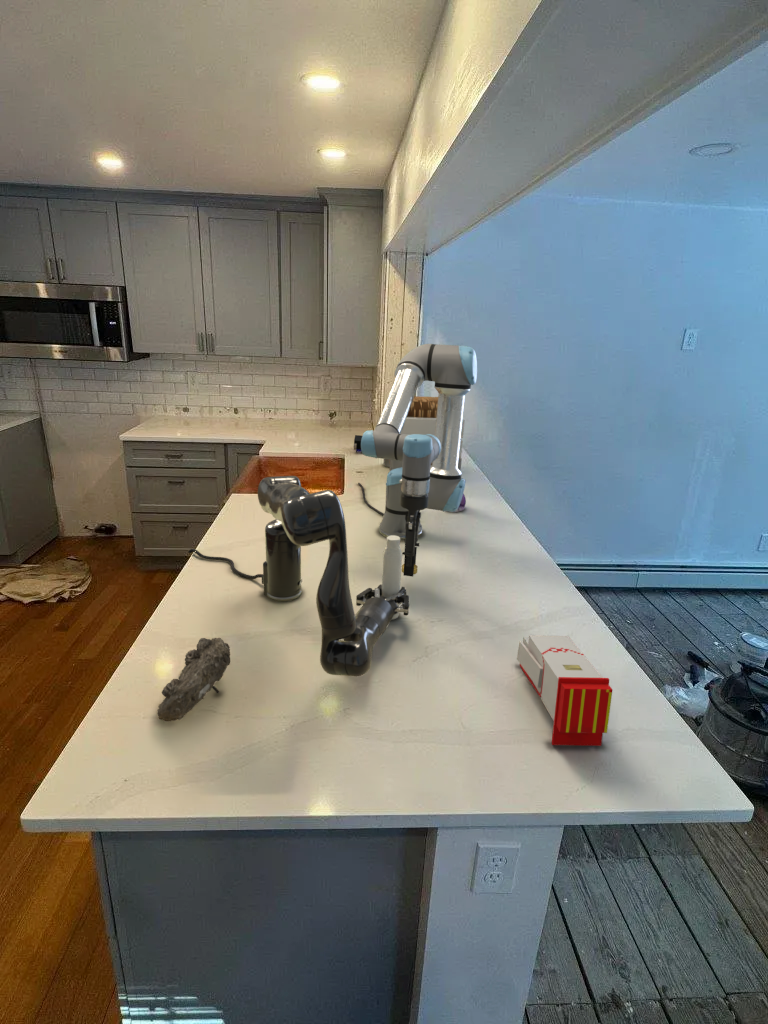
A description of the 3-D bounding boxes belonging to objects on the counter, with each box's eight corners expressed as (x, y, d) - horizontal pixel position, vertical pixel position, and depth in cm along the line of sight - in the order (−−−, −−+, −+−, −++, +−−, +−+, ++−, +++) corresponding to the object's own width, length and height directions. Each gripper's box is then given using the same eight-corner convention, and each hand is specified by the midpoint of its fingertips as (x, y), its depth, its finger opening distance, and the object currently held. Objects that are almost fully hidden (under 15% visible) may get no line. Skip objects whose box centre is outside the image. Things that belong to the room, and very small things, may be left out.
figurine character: (365, 456, 306) (365, 447, 319) (365, 443, 302) (366, 434, 316) (353, 456, 306) (353, 446, 319) (353, 442, 302) (354, 433, 316)
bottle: (385, 609, 150) (389, 532, 142) (401, 613, 148) (406, 536, 140) (377, 616, 146) (380, 538, 138) (393, 621, 144) (398, 542, 137)
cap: (399, 568, 161) (399, 563, 161) (414, 567, 163) (414, 562, 162) (404, 575, 157) (404, 570, 157) (419, 574, 159) (419, 569, 158)
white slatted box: (382, 463, 289) (386, 382, 275) (445, 464, 293) (451, 384, 279) (390, 482, 257) (394, 392, 243) (460, 483, 261) (468, 394, 247)
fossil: (183, 640, 124) (231, 608, 119) (213, 669, 127) (261, 639, 122) (134, 715, 105) (189, 682, 100) (171, 748, 108) (227, 717, 103)
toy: (564, 619, 129) (622, 685, 100) (558, 672, 132) (613, 753, 103) (511, 618, 129) (554, 684, 100) (507, 672, 132) (547, 752, 102)
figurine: (452, 514, 221) (455, 477, 216) (438, 506, 229) (441, 470, 224) (472, 511, 225) (475, 475, 220) (457, 503, 234) (460, 468, 229)
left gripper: (402, 611, 128) (421, 580, 144) (343, 599, 132) (368, 570, 148) (400, 640, 131) (419, 606, 146) (343, 627, 135) (367, 595, 150)
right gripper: (404, 482, 161) (400, 558, 169) (396, 501, 145) (391, 583, 152) (431, 485, 160) (425, 560, 168) (425, 504, 144) (419, 586, 151)
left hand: (393, 588), depth 147 cm, fingers closed on bottle, 4 cm apart
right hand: (409, 571), depth 160 cm, fingers closed on cap, 4 cm apart
